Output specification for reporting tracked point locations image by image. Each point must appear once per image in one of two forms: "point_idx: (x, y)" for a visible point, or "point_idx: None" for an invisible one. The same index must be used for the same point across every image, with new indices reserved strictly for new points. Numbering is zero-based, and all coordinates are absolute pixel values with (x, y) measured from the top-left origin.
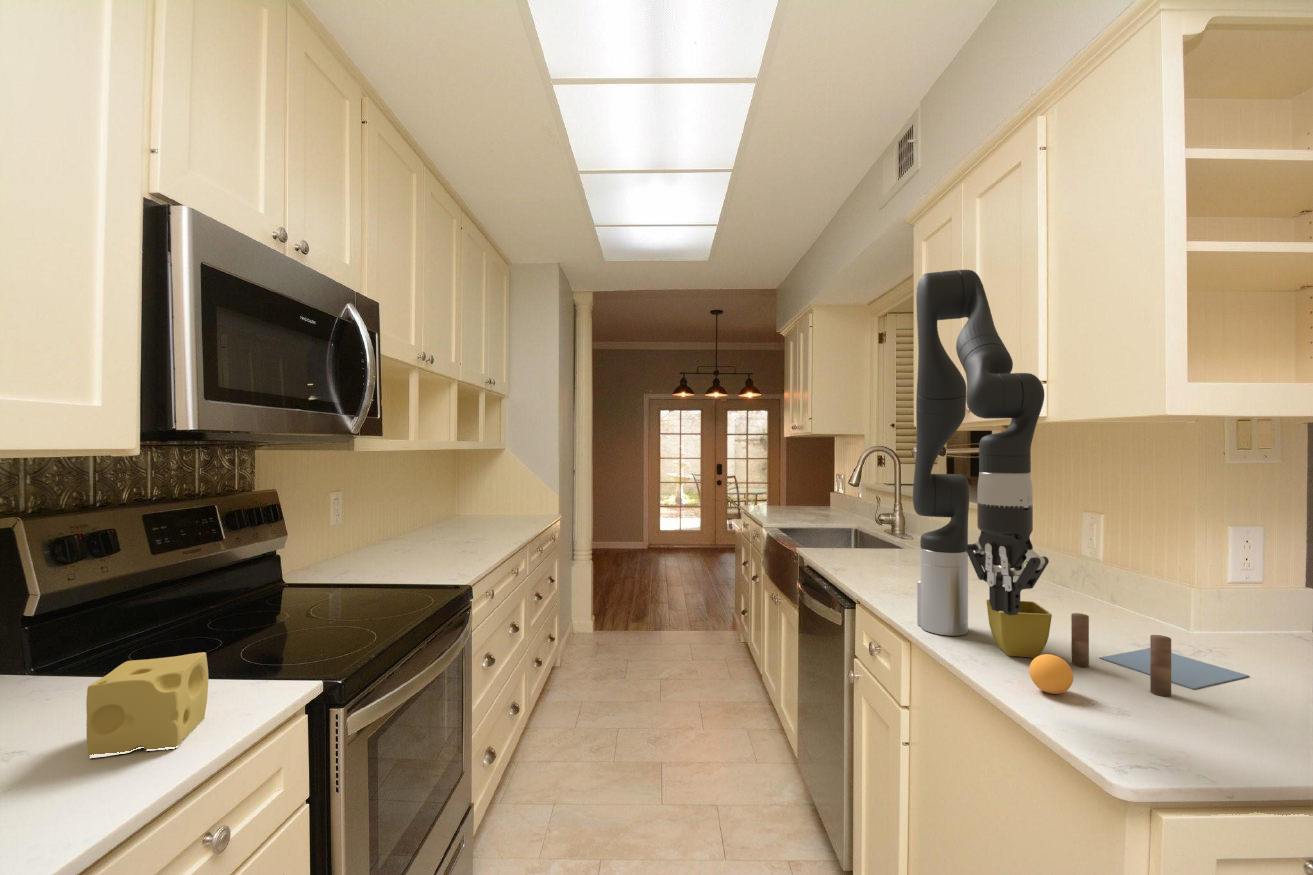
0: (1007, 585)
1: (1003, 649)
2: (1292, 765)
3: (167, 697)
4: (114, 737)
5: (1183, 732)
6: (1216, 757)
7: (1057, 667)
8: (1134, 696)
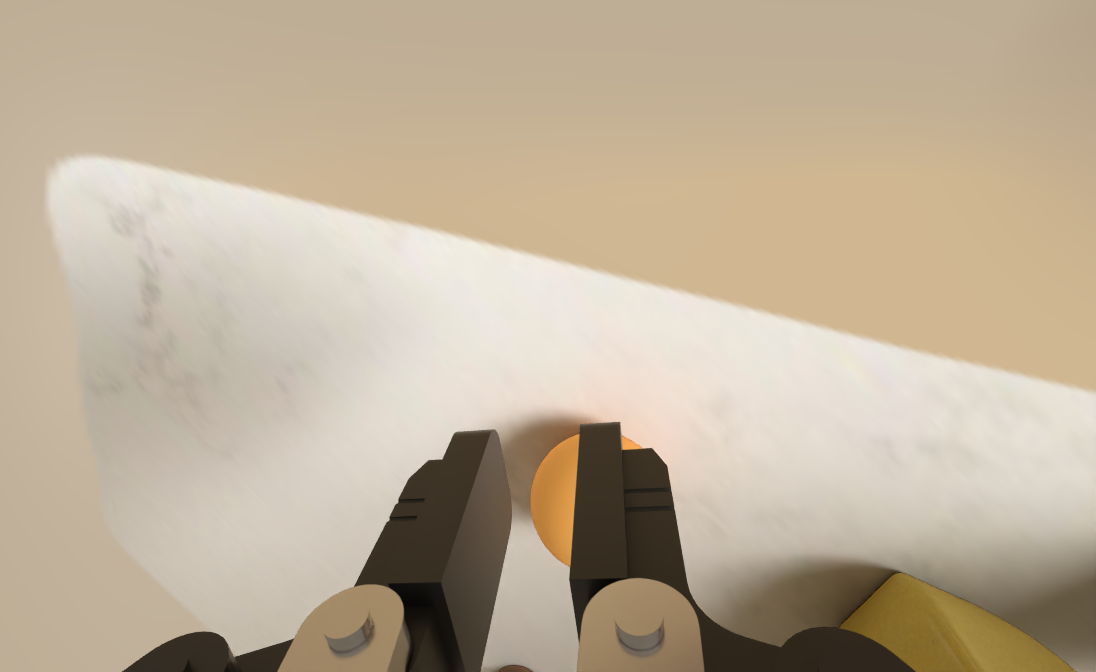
0: (343, 648)
1: (926, 584)
2: (175, 584)
3: None
4: None
5: (319, 542)
6: (202, 494)
7: (546, 510)
8: (516, 619)
